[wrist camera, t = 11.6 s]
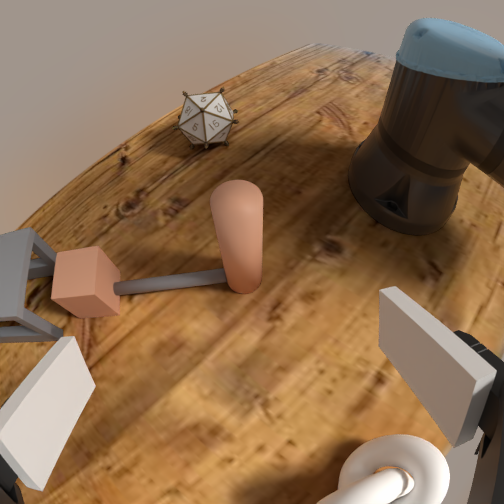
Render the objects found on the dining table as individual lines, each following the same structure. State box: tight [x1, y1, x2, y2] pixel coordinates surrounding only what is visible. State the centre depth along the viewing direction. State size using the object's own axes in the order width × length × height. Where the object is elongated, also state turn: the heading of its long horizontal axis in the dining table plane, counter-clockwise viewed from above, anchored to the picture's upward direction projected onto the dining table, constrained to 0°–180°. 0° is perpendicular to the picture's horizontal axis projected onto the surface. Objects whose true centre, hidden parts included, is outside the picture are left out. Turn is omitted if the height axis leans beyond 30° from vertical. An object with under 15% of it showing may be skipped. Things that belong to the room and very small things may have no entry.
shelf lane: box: [0, 227, 63, 343], centre depth 28 cm, size 14×9×8 cm
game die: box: [172, 87, 239, 150], centre depth 40 cm, size 9×8×10 cm
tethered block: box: [51, 180, 263, 318], centre depth 27 cm, size 20×5×13 cm, turn 98°
